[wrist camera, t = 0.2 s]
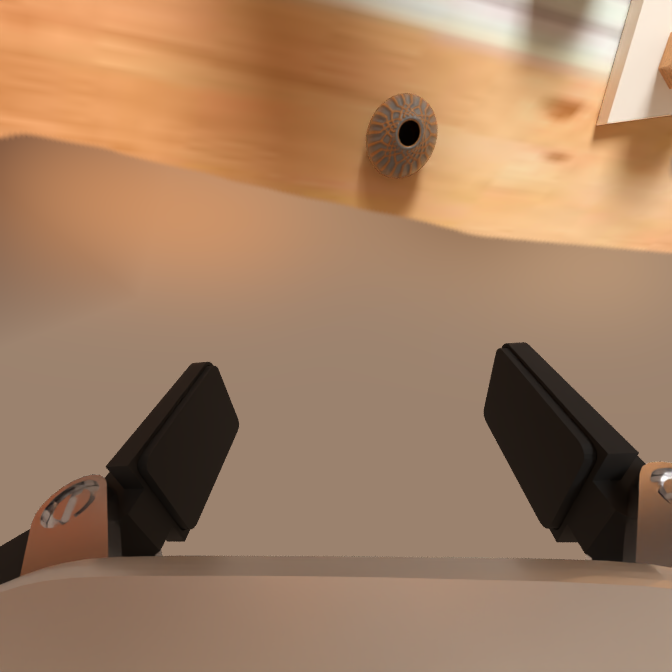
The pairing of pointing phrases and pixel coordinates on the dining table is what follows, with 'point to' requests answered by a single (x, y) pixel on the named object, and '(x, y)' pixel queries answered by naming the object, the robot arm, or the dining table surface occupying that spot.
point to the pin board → (639, 66)
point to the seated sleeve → (667, 63)
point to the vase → (401, 135)
